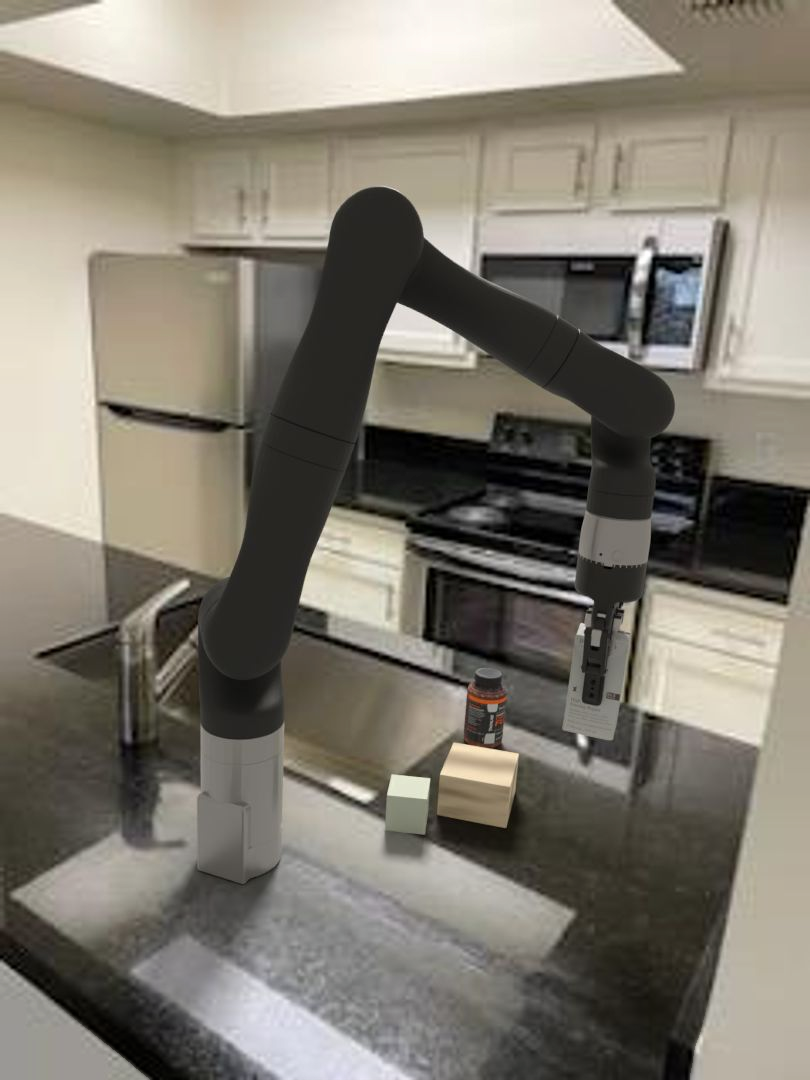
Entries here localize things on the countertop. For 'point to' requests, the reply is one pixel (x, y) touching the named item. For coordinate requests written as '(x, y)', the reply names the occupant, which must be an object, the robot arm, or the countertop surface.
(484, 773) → the maple block
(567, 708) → the skincare box
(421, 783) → the sage block
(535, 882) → the countertop surface
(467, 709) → the supplement bottle
